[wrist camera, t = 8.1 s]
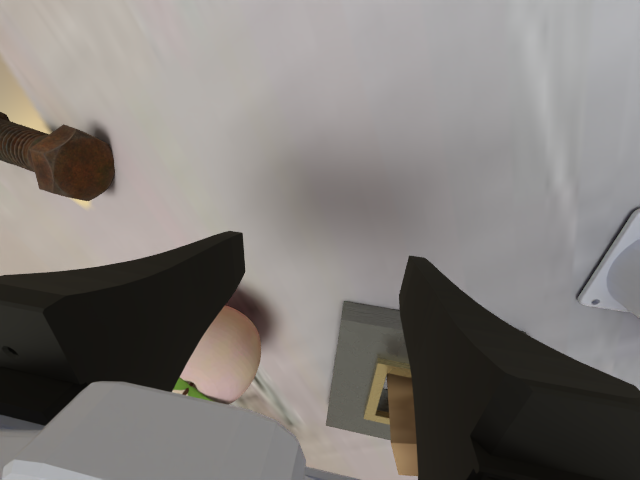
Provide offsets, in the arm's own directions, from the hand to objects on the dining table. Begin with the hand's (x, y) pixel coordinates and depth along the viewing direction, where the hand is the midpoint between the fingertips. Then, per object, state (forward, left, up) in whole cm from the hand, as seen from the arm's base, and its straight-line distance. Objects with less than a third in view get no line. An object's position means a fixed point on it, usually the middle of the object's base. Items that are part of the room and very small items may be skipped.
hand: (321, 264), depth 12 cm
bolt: (+27, -2, -11) cm, 30 cm away
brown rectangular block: (-9, +18, -11) cm, 23 cm away
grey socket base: (-9, +18, -11) cm, 23 cm away
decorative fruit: (+10, +14, -11) cm, 20 cm away
